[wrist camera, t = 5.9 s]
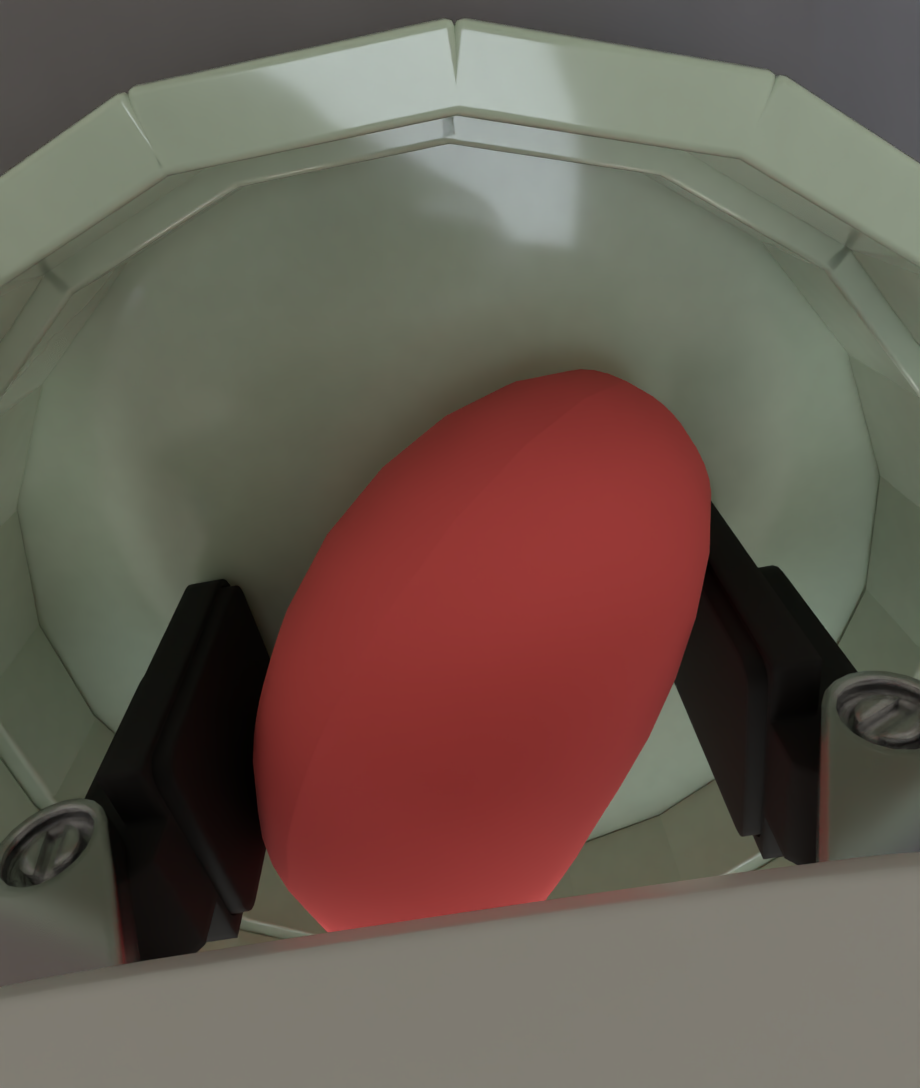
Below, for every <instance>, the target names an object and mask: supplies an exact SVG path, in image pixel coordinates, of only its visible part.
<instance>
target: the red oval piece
mask: <svg viewBox="0 0 920 1088" xmlns="http://www.w3.org/2000/svg"><path fill="white" fill-rule="evenodd" d="M710 518H711V488H710V481H709V477H708V473H707V470H706V467H705V464H704V462H703V460H702V458H701V456H700V454H699V452H698V450H697V448H696V446H695V445H694V443H693V442H692V440H691V438H690V437H689V435H688V434H687V432H686V431H685V429H684V428H683V426H682V424H681V423H680V422H679V421H678V419H677V418H676V417H675V416H674V415H673V413H672V412H671V411H670V410H669V409H667V408H666V407H665V406H664V405H663V404H662V403H661V402H659V401H658V400H657V399H656V398H654V397H653V396H651V395H650V394H648V393H646V392H645V391H643V390H641V389H639V388H638V387H636V386H634V385H632V384H630V383H629V382H627V381H625V380H623V379H620V378H618V377H615V376H613V375H611V374H608V373H604V372H600V371H596V370H586V369H578V370H571V371H566V372H561V373H556V374H551V375H546V376H540V377H535V378H530V379H525V380H520V381H516V382H513V383H511V384H509V385H506V386H504V387H502V388H500V389H498V390H496V391H494V392H492V393H490V394H488V395H486V396H484V397H482V398H480V399H478V400H476V401H474V402H472V403H470V404H468V405H466V406H464V407H462V408H460V409H458V410H456V411H454V412H452V413H450V414H448V415H446V416H445V417H443V418H442V419H441V420H440V421H439V422H437V423H436V424H435V425H434V426H432V427H431V428H430V429H429V430H428V431H426V432H425V433H424V434H423V435H421V436H420V437H419V438H418V439H417V440H415V441H414V442H413V443H412V444H410V445H409V446H408V447H407V448H406V449H404V450H403V451H402V452H401V453H399V454H398V455H397V456H396V457H394V458H393V459H392V460H391V461H390V462H388V463H387V464H386V465H385V466H383V467H382V468H381V470H380V471H379V472H378V473H377V475H376V476H375V477H374V478H373V479H372V481H371V482H370V483H369V484H368V485H367V487H366V488H365V489H364V490H363V492H362V493H361V494H360V495H359V496H358V498H357V499H356V500H355V501H354V502H353V504H352V505H351V506H350V507H349V508H348V510H347V511H346V512H345V513H344V515H343V516H342V517H341V518H340V519H339V521H338V522H337V523H336V524H335V525H334V527H333V528H332V529H331V530H330V532H329V533H328V534H327V535H326V537H325V539H324V541H323V543H322V545H321V547H320V548H319V550H318V552H317V554H316V556H315V558H314V560H313V562H312V564H311V565H310V567H309V569H308V571H307V573H306V575H305V577H304V579H303V580H302V582H301V584H300V586H299V588H298V590H297V592H296V594H295V595H294V597H293V599H292V601H291V603H290V605H289V607H288V609H287V611H286V614H285V616H284V619H283V622H282V625H281V627H280V630H279V633H278V636H277V639H276V642H275V645H274V649H273V652H272V655H271V659H270V662H269V666H268V669H267V673H266V677H265V680H264V684H263V688H262V692H261V696H260V700H259V705H258V710H257V716H256V722H255V730H254V744H253V769H254V779H255V789H256V798H257V808H258V815H259V821H260V827H261V834H262V839H263V841H264V844H265V847H266V849H267V852H268V855H269V857H270V860H271V863H272V865H273V867H274V868H275V870H276V872H277V873H278V875H279V876H280V878H281V880H282V881H283V883H284V884H285V886H286V888H287V889H288V891H289V892H290V893H291V894H292V895H293V896H294V897H295V898H296V899H297V900H298V902H299V903H300V904H301V905H302V906H303V907H304V908H305V909H306V910H307V911H308V912H309V913H310V914H311V916H312V917H313V918H314V919H315V920H316V921H317V922H318V923H319V924H320V925H321V926H322V927H323V928H324V929H325V930H326V931H327V932H335V931H341V930H348V929H355V928H362V927H368V926H375V925H382V924H388V923H395V922H402V921H409V920H415V919H422V918H429V917H435V916H442V915H449V914H456V913H463V912H469V911H476V910H483V909H490V908H497V907H503V906H510V905H517V904H524V903H531V902H537V901H544V900H546V899H547V897H548V896H549V895H550V893H551V892H552V891H553V890H554V888H555V887H556V886H557V884H558V883H559V882H560V880H561V879H562V877H563V876H564V874H565V873H566V872H567V870H568V869H569V867H570V866H571V864H572V863H573V861H574V860H575V859H576V857H577V856H578V854H579V852H580V851H581V849H582V847H583V845H584V844H585V842H586V840H587V839H588V837H589V836H590V834H591V832H592V831H593V829H594V827H595V826H596V824H597V823H598V821H599V819H600V818H601V816H602V815H603V813H604V811H605V810H606V808H607V807H608V805H609V804H610V802H611V801H612V799H613V798H614V796H615V794H616V793H617V791H618V790H619V788H620V786H621V785H622V783H623V781H624V779H625V778H626V776H627V774H628V773H629V771H630V769H631V767H632V766H633V764H634V762H635V760H636V759H637V757H638V755H639V754H640V752H641V750H642V748H643V747H644V745H645V743H646V742H647V740H648V738H649V736H650V734H651V732H652V730H653V727H654V725H655V723H656V721H657V718H658V716H659V714H660V712H661V710H662V707H663V705H664V703H665V701H666V699H667V696H668V694H669V692H670V690H671V688H672V685H673V683H674V681H675V679H676V676H677V673H678V670H679V667H680V664H681V661H682V658H683V655H684V652H685V649H686V646H687V643H688V640H689V637H690V634H691V631H692V628H693V625H694V622H695V619H696V615H697V610H698V605H699V600H700V596H701V591H702V586H703V581H704V577H705V572H706V567H707V562H708V558H709V553H710Z"/></svg>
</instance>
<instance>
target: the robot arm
mask: <svg viewBox="0 0 920 1088" xmlns="http://www.w3.org/2000/svg"><path fill="white" fill-rule="evenodd" d="M269 662H270V657H269V654H268V652H267V649H266V647H265V645H264V642H263V640H262V637H261V635H260V632H259V630H258V627H257V625H256V622H255V620H254V617H253V615H252V613H251V610H250V608H249V605H248V603H247V600H246V598H245V595H244V593H243V591H242V589H241V588H240V587H239V586H238V585H235V586H230V584H229V583H228V582H227V580H225V579H218V580H213V581H207V582H201V583H196V584H191V585H188V586H187V588H186V589H185V591H184V593H183V595H182V597H181V599H180V601H179V604H178V606H177V608H176V610H175V612H174V614H173V616H172V618H171V620H170V622H169V625H168V627H167V629H166V631H165V633H164V635H163V637H162V639H161V641H160V643H159V646H158V648H157V650H156V652H155V654H154V656H153V658H152V660H151V662H150V665H149V667H148V669H147V671H146V673H145V675H144V677H143V678H142V680H141V681H140V683H139V685H138V687H137V689H136V691H135V694H134V696H133V698H132V700H131V702H130V704H129V706H128V708H127V710H126V712H125V714H124V717H123V719H122V721H121V723H120V725H119V727H118V729H117V731H116V733H115V735H114V738H113V740H112V742H111V744H110V746H109V748H108V750H107V752H106V754H105V756H104V758H103V761H102V763H101V765H100V767H99V769H98V771H97V773H96V775H95V777H94V779H93V782H92V784H91V786H90V788H89V790H88V792H87V794H86V796H85V798H84V799H83V798H77V799H70V800H64V801H61V802H58V803H55V804H52V805H50V806H47V807H45V808H43V809H42V810H40V811H38V812H36V813H34V814H33V815H31V816H29V817H28V818H27V819H25V820H24V821H23V822H22V823H20V824H19V825H18V826H17V827H15V828H14V829H13V830H12V831H11V832H10V833H9V834H8V835H7V836H6V838H5V839H4V840H3V841H2V842H1V843H0V1088H920V680H918V679H915V678H913V677H910V676H908V675H903V674H898V673H893V672H889V671H862V672H858V671H857V670H856V669H855V667H854V666H853V665H852V663H851V662H850V661H849V659H848V658H847V657H846V655H845V654H844V653H843V651H842V650H841V649H840V647H839V646H838V645H837V643H836V642H835V641H834V639H833V638H832V637H831V635H830V634H829V633H828V631H827V630H826V629H825V627H824V626H823V625H822V623H821V622H820V621H819V619H818V618H817V616H816V615H815V614H814V612H813V611H812V610H811V608H810V607H809V606H808V604H807V603H806V602H805V600H804V599H803V598H802V596H801V595H800V594H799V592H798V591H797V590H796V588H795V587H794V586H793V584H792V583H791V582H790V580H789V579H788V578H787V576H786V575H785V574H784V572H783V571H782V570H781V569H780V568H779V567H778V566H774V565H770V566H764V567H759V568H758V567H757V565H756V564H755V562H754V561H753V560H752V558H751V557H750V555H749V554H748V553H747V551H746V550H745V548H744V547H743V545H742V544H741V543H740V541H739V540H738V538H737V537H736V535H735V534H734V533H733V531H732V530H731V528H730V527H729V525H728V524H727V523H726V521H725V520H724V518H723V517H722V515H721V514H720V513H719V511H718V510H717V508H716V507H715V505H714V504H713V503H712V501H711V518H710V553H709V558H708V562H707V567H706V572H705V577H704V581H703V586H702V591H701V596H700V600H699V605H698V610H697V615H696V619H695V622H694V625H693V628H692V631H691V634H690V637H689V640H688V643H687V646H686V649H685V652H684V655H683V658H682V661H681V664H680V667H679V670H678V673H677V676H676V679H675V681H674V683H675V686H676V688H677V691H678V693H679V695H680V698H681V700H682V702H683V705H684V707H685V709H686V712H687V714H688V717H689V719H690V721H691V724H692V726H693V728H694V731H695V733H696V735H697V738H698V740H699V743H700V745H701V747H702V750H703V752H704V754H705V757H706V759H707V761H708V764H709V766H710V768H711V771H712V773H713V776H714V778H715V780H716V783H717V785H718V787H719V790H720V792H721V794H722V797H723V799H724V802H725V804H726V806H727V809H728V811H729V813H730V816H731V818H732V820H733V823H734V825H735V827H736V830H737V832H738V833H739V835H740V836H742V837H745V836H751V835H753V837H754V840H755V842H756V844H757V847H758V849H759V851H760V853H761V856H762V858H763V859H770V858H777V857H784V858H785V859H787V860H789V861H790V862H792V863H794V864H796V865H795V866H787V867H780V868H772V869H764V870H756V871H748V872H740V873H733V874H726V875H719V876H712V877H705V878H698V879H691V880H684V881H677V882H670V883H663V884H656V885H649V886H642V887H635V888H628V889H621V890H614V891H607V892H600V893H593V894H586V895H579V896H572V897H565V898H558V899H551V900H544V901H537V902H531V903H524V904H517V905H510V906H503V907H497V908H490V909H483V910H476V911H469V912H463V913H456V914H449V915H442V916H435V917H429V918H422V919H415V920H409V921H402V922H395V923H388V924H382V925H375V926H368V927H362V928H355V929H348V930H341V931H335V932H328V933H322V934H315V935H309V936H302V937H296V938H289V939H282V940H276V941H269V942H263V943H256V944H250V945H243V946H237V947H230V948H224V949H217V950H211V951H204V952H198V951H199V950H200V949H201V948H202V947H203V946H204V945H205V944H206V942H212V941H219V940H225V939H232V938H238V934H239V929H240V925H241V920H242V915H243V912H247V911H250V910H252V908H253V906H254V904H255V900H256V895H257V891H258V886H259V881H260V876H261V871H262V866H263V862H264V857H265V852H266V847H265V844H264V841H263V839H262V834H261V827H260V821H259V815H258V808H257V798H256V789H255V779H254V769H253V744H254V730H255V722H256V716H257V710H258V705H259V700H260V696H261V692H262V688H263V684H264V680H265V677H266V673H267V669H268V666H269ZM197 952H198V953H197Z"/></svg>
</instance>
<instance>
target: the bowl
mask: <svg viewBox="0 0 920 1088" xmlns="http://www.w3.org/2000/svg"><path fill="white" fill-rule="evenodd" d="M578 369H586V370H596V371H600V372H604V373H608V374H611V375H613V376H615V377H618V378H620V379H623V380H625V381H627V382H629V383H630V384H632V385H634V386H636V387H638V388H639V389H641V390H643V391H645V392H646V393H648V394H650V395H651V396H653V397H654V398H656V399H657V400H658V401H659V402H661V403H662V404H663V405H664V406H665V407H666V408H667V409H669V410H670V411H671V412H672V413H673V415H674V416H675V417H676V418H677V419H678V421H679V422H680V423H681V424H682V426H683V428H684V429H685V431H686V432H687V434H688V435H689V437H690V438H691V440H692V442H693V443H694V445H695V446H696V448H697V450H698V452H699V454H700V456H701V458H702V460H703V462H704V464H705V467H706V470H707V473H708V477H709V481H710V488H711V501H712V503H713V504H714V505H715V507H716V508H717V510H718V511H719V513H720V514H721V515H722V517H723V518H724V520H725V521H726V523H727V524H728V525H729V527H730V528H731V530H732V531H733V533H734V534H735V535H736V537H737V538H738V540H739V541H740V543H741V544H742V545H743V547H744V548H745V550H746V551H747V553H748V554H749V555H750V557H751V558H752V560H753V561H754V562H755V564H756V565H757V567H758V568H759V567H764V566H770V565H774V566H778V567H779V568H780V569H781V570H782V571H783V572H784V574H785V575H786V576H787V578H788V579H789V580H790V582H791V583H792V584H793V586H794V587H795V588H796V590H797V591H798V592H799V594H800V595H801V596H802V598H803V599H804V600H805V602H806V603H807V604H808V606H809V607H810V608H811V610H812V611H813V612H814V614H815V615H816V616H817V618H818V619H819V621H820V622H821V623H822V625H823V626H824V627H825V629H826V630H827V631H828V633H829V634H830V635H831V637H832V638H833V639H834V641H835V642H836V643H837V645H838V646H839V647H840V649H841V650H842V651H843V653H844V654H845V655H846V657H847V658H848V659H849V661H850V662H851V663H852V665H853V666H854V667H855V669H856V670H857V671H858V672H862V671H889V672H893V673H898V674H903V675H908V676H910V677H913V678H915V679H918V680H920V162H918V161H916V160H915V159H913V158H912V157H910V156H909V155H907V154H906V153H904V152H903V151H901V150H900V149H898V148H897V147H895V146H893V145H892V144H890V143H889V142H887V141H886V140H884V139H883V138H881V137H880V136H878V135H877V134H875V133H874V132H872V131H870V130H869V129H867V128H866V127H864V126H863V125H861V124H860V123H858V122H857V121H855V120H854V119H852V118H851V117H849V116H847V115H846V114H844V113H843V112H841V111H840V110H838V109H837V108H835V107H834V106H832V105H831V104H829V103H828V102H826V101H824V100H823V99H821V98H820V97H818V96H817V95H815V94H814V93H812V92H811V91H809V90H808V89H806V88H805V87H803V86H801V85H800V84H798V83H797V82H795V81H794V80H792V79H791V78H789V77H788V76H786V75H775V74H774V73H773V72H772V71H770V70H769V69H765V68H759V67H753V66H747V65H741V64H735V63H729V62H723V61H717V60H712V59H706V58H700V57H694V56H688V55H682V54H676V53H670V52H664V51H659V50H653V49H647V48H641V47H635V46H629V45H623V44H617V43H611V42H606V41H600V40H594V39H588V38H582V37H576V36H570V35H564V34H558V33H552V32H547V31H541V30H535V29H529V28H523V27H517V26H511V25H505V24H499V23H494V22H488V21H482V20H476V19H470V18H462V19H459V20H456V22H455V24H454V23H453V21H452V20H451V19H447V18H441V19H437V20H432V21H428V22H423V23H419V24H414V25H409V26H405V27H400V28H396V29H391V30H386V31H382V32H377V33H373V34H368V35H363V36H359V37H354V38H350V39H345V40H341V41H336V42H331V43H327V44H322V45H318V46H313V47H308V48H304V49H299V50H295V51H290V52H285V53H281V54H276V55H272V56H267V57H263V58H258V59H253V60H249V61H244V62H240V63H235V64H230V65H226V66H221V67H217V68H212V69H207V70H203V71H198V72H194V73H189V74H185V75H180V76H175V77H171V78H166V79H162V80H157V81H152V82H148V83H143V84H139V85H134V86H133V87H132V88H130V89H129V91H128V92H123V93H117V94H115V95H114V96H112V97H111V98H109V99H108V100H107V101H105V102H104V103H102V104H101V105H100V106H98V107H97V108H95V109H94V110H93V111H91V112H90V113H88V114H87V115H85V116H84V117H83V118H81V119H80V120H78V121H77V122H76V123H74V124H73V125H71V126H70V127H69V128H67V129H66V130H64V131H63V132H61V133H60V134H59V135H57V136H56V137H54V138H53V139H52V140H50V141H49V142H47V143H46V144H44V145H43V146H42V147H40V148H39V149H37V150H36V151H35V152H33V153H32V154H30V155H29V156H28V157H26V158H25V159H23V160H22V161H20V162H19V163H18V164H16V165H15V166H13V167H12V168H11V169H9V170H8V171H6V172H5V173H4V174H2V175H1V176H0V843H1V842H2V841H3V840H4V839H5V838H6V836H7V835H8V834H9V833H10V832H11V831H12V830H13V829H14V828H15V827H17V826H18V825H19V824H20V823H22V822H23V821H24V820H25V819H27V818H28V817H29V816H31V815H33V814H34V813H36V812H38V811H40V810H42V809H43V808H45V807H47V806H50V805H52V804H55V803H58V802H61V801H64V800H70V799H77V798H83V799H84V798H85V796H86V794H87V792H88V790H89V788H90V786H91V784H92V782H93V779H94V777H95V775H96V773H97V771H98V769H99V767H100V765H101V763H102V761H103V758H104V756H105V754H106V752H107V750H108V748H109V746H110V744H111V742H112V740H113V738H114V735H115V733H116V731H117V729H118V727H119V725H120V723H121V721H122V719H123V717H124V714H125V712H126V710H127V708H128V706H129V704H130V702H131V700H132V698H133V696H134V694H135V691H136V689H137V687H138V685H139V683H140V681H141V680H142V678H143V677H144V675H145V673H146V671H147V669H148V667H149V665H150V662H151V660H152V658H153V656H154V654H155V652H156V650H157V648H158V646H159V643H160V641H161V639H162V637H163V635H164V633H165V631H166V629H167V627H168V625H169V622H170V620H171V618H172V616H173V614H174V612H175V610H176V608H177V606H178V604H179V601H180V599H181V597H182V595H183V593H184V591H185V589H186V588H187V586H188V585H191V584H196V583H201V582H207V581H213V580H218V579H225V580H227V582H228V583H229V584H230V586H235V585H238V586H239V587H240V588H241V589H242V591H243V593H244V595H245V598H246V600H247V603H248V605H249V608H250V610H251V613H252V615H253V617H254V620H255V622H256V625H257V627H258V630H259V632H260V635H261V637H262V640H263V642H264V645H265V647H266V649H267V652H268V654H269V657H270V659H271V655H272V652H273V649H274V645H275V642H276V639H277V636H278V633H279V630H280V627H281V625H282V622H283V619H284V616H285V614H286V611H287V609H288V607H289V605H290V603H291V601H292V599H293V597H294V595H295V594H296V592H297V590H298V588H299V586H300V584H301V582H302V580H303V579H304V577H305V575H306V573H307V571H308V569H309V567H310V565H311V564H312V562H313V560H314V558H315V556H316V554H317V552H318V550H319V548H320V547H321V545H322V543H323V541H324V539H325V537H326V535H327V534H328V533H329V532H330V530H331V529H332V528H333V527H334V525H335V524H336V523H337V522H338V521H339V519H340V518H341V517H342V516H343V515H344V513H345V512H346V511H347V510H348V508H349V507H350V506H351V505H352V504H353V502H354V501H355V500H356V499H357V498H358V496H359V495H360V494H361V493H362V492H363V490H364V489H365V488H366V487H367V485H368V484H369V483H370V482H371V481H372V479H373V478H374V477H375V476H376V475H377V473H378V472H379V471H380V470H381V468H382V467H383V466H385V465H386V464H387V463H388V462H390V461H391V460H392V459H393V458H394V457H396V456H397V455H398V454H399V453H401V452H402V451H403V450H404V449H406V448H407V447H408V446H409V445H410V444H412V443H413V442H414V441H415V440H417V439H418V438H419V437H420V436H421V435H423V434H424V433H425V432H426V431H428V430H429V429H430V428H431V427H432V426H434V425H435V424H436V423H437V422H439V421H440V420H441V419H442V418H443V417H445V416H446V415H448V414H450V413H452V412H454V411H456V410H458V409H460V408H462V407H464V406H466V405H468V404H470V403H472V402H474V401H476V400H478V399H480V398H482V397H484V396H486V395H488V394H490V393H492V392H494V391H496V390H498V389H500V388H502V387H504V386H506V385H509V384H511V383H513V382H516V381H520V380H525V379H530V378H535V377H540V376H546V375H551V374H556V373H561V372H566V371H571V370H578ZM795 865H796V864H794V863H792V862H790V861H789V860H787V859H785V858H784V857H777V858H770V859H763V858H762V856H761V853H760V851H759V849H758V847H757V844H756V842H755V840H754V837H753V835H751V836H745V837H742V836H740V835H739V833H738V832H737V830H736V827H735V825H734V823H733V820H732V818H731V816H730V813H729V811H728V809H727V806H726V804H725V802H724V799H723V797H722V794H721V792H720V790H719V787H718V785H717V783H716V780H715V778H714V776H713V773H712V771H711V768H710V766H709V764H708V761H707V759H706V757H705V754H704V752H703V750H702V747H701V745H700V743H699V740H698V738H697V735H696V733H695V731H694V728H693V726H692V724H691V721H690V719H689V717H688V714H687V712H686V709H685V707H684V705H683V702H682V700H681V698H680V695H679V693H678V691H677V688H676V686H675V683H673V685H672V688H671V690H670V692H669V694H668V696H667V699H666V701H665V703H664V705H663V707H662V710H661V712H660V714H659V716H658V718H657V721H656V723H655V725H654V727H653V730H652V732H651V734H650V736H649V738H648V740H647V742H646V743H645V745H644V747H643V748H642V750H641V752H640V754H639V755H638V757H637V759H636V760H635V762H634V764H633V766H632V767H631V769H630V771H629V773H628V774H627V776H626V778H625V779H624V781H623V783H622V785H621V786H620V788H619V790H618V791H617V793H616V794H615V796H614V798H613V799H612V801H611V802H610V804H609V805H608V807H607V808H606V810H605V811H604V813H603V815H602V816H601V818H600V819H599V821H598V823H597V824H596V826H595V827H594V829H593V831H592V832H591V834H590V836H589V837H588V839H587V840H586V842H585V844H584V845H583V847H582V849H581V851H580V852H579V854H578V856H577V857H576V859H575V860H574V861H573V863H572V864H571V866H570V867H569V869H568V870H567V872H566V873H565V874H564V876H563V877H562V879H561V880H560V882H559V883H558V884H557V886H556V887H555V888H554V890H553V891H552V892H551V893H550V895H549V896H548V897H547V899H546V900H551V899H558V898H565V897H572V896H579V895H586V894H593V893H600V892H607V891H614V890H621V889H628V888H635V887H642V886H649V885H656V884H663V883H670V882H677V881H684V880H691V879H698V878H705V877H712V876H719V875H726V874H733V873H740V872H748V871H756V870H764V869H772V868H780V867H787V866H795ZM322 933H328V932H327V931H326V930H325V929H324V928H323V927H322V926H321V925H320V924H319V923H318V922H317V921H316V920H315V919H314V918H313V917H312V916H311V914H310V913H309V912H308V911H307V910H306V909H305V908H304V907H303V906H302V905H301V904H300V903H299V902H298V900H297V899H296V898H295V897H294V896H293V895H292V894H291V893H290V892H289V891H288V889H287V888H286V886H285V884H284V883H283V881H282V880H281V878H280V876H279V875H278V873H277V872H276V870H275V868H274V867H273V865H272V863H271V860H270V857H269V855H268V852H267V849H266V852H265V857H264V862H263V866H262V871H261V876H260V881H259V886H258V891H257V895H256V900H255V904H254V906H253V908H252V910H250V911H247V912H243V915H242V920H241V925H240V929H239V934H238V938H232V939H225V940H219V941H212V942H206V944H205V945H204V946H203V947H202V948H201V949H200V950H199V951H198V952H204V951H211V950H217V949H224V948H230V947H237V946H243V945H250V944H256V943H263V942H269V941H276V940H282V939H289V938H296V937H302V936H309V935H315V934H322ZM198 952H197V953H198Z"/></svg>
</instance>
